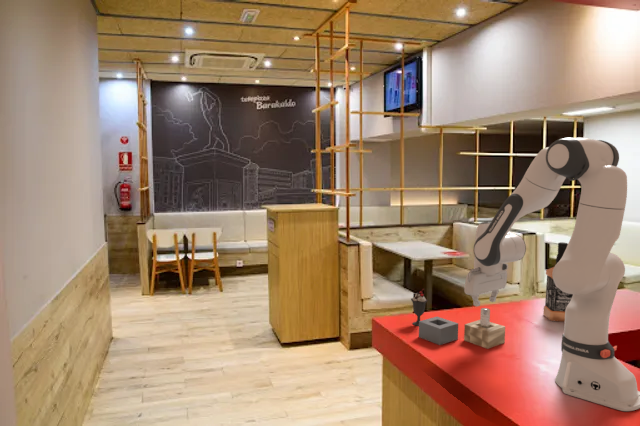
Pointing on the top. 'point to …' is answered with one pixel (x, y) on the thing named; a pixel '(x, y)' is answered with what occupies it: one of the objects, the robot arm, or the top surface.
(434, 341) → the dock block
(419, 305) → the sundae
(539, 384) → the top surface
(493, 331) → the mount block
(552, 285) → the whiskey bottle
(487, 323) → the pin
